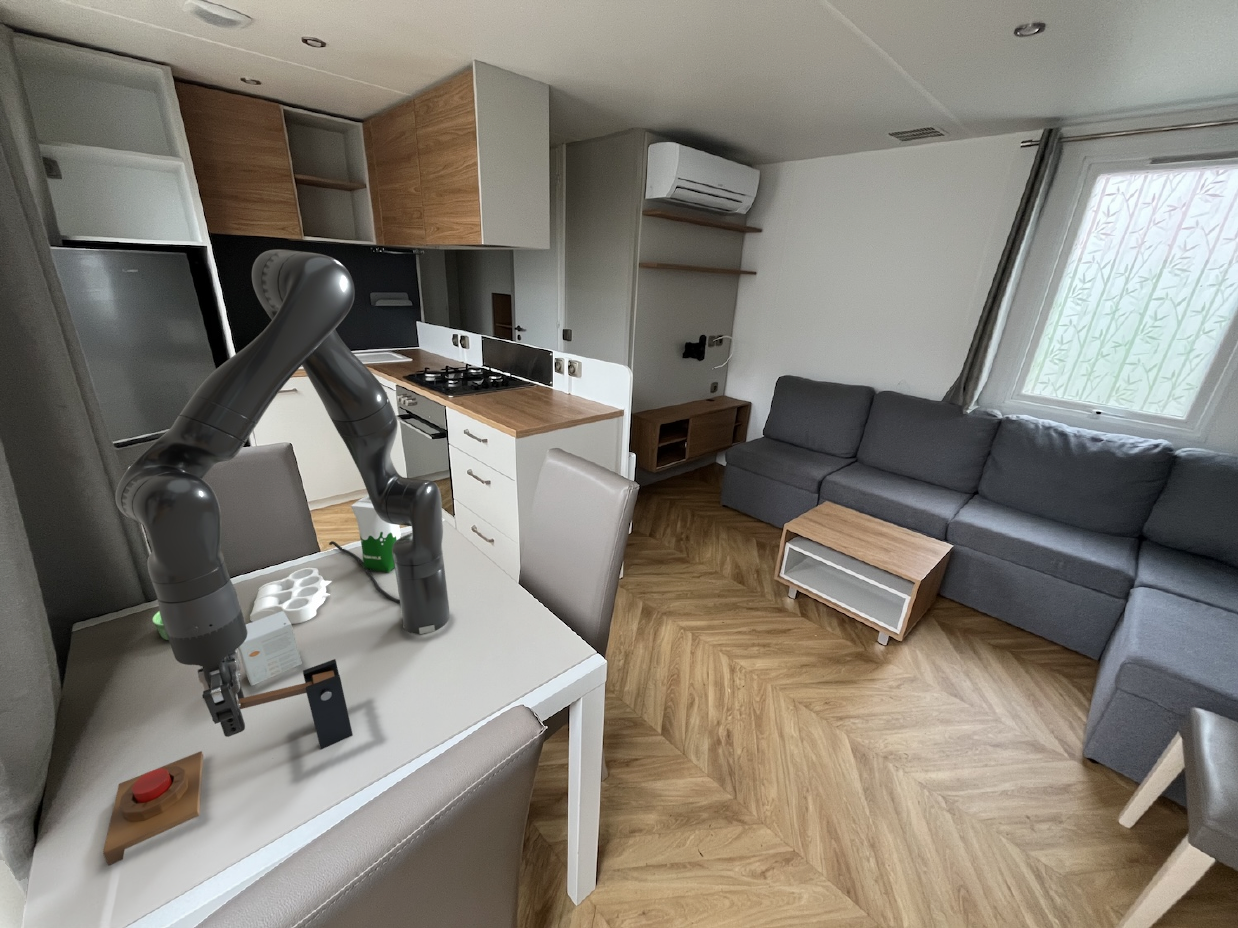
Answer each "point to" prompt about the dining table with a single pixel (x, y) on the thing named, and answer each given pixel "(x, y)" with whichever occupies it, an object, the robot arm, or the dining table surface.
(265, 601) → the white brass knuckles
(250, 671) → the small box
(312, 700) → the bracket
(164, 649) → the dining table surface
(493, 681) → the dining table surface
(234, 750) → the dining table surface
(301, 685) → the lever
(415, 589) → the robot arm
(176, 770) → the button block
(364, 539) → the milk carton
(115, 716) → the dining table surface
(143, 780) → the button
